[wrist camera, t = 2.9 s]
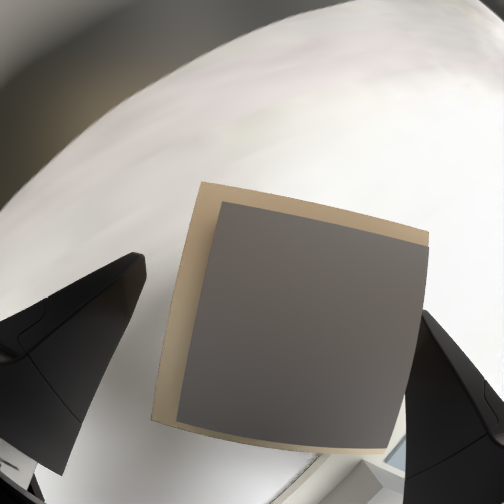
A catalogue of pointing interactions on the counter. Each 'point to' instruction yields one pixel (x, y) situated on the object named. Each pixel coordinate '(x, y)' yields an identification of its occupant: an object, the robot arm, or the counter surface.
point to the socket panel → (354, 476)
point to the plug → (291, 324)
